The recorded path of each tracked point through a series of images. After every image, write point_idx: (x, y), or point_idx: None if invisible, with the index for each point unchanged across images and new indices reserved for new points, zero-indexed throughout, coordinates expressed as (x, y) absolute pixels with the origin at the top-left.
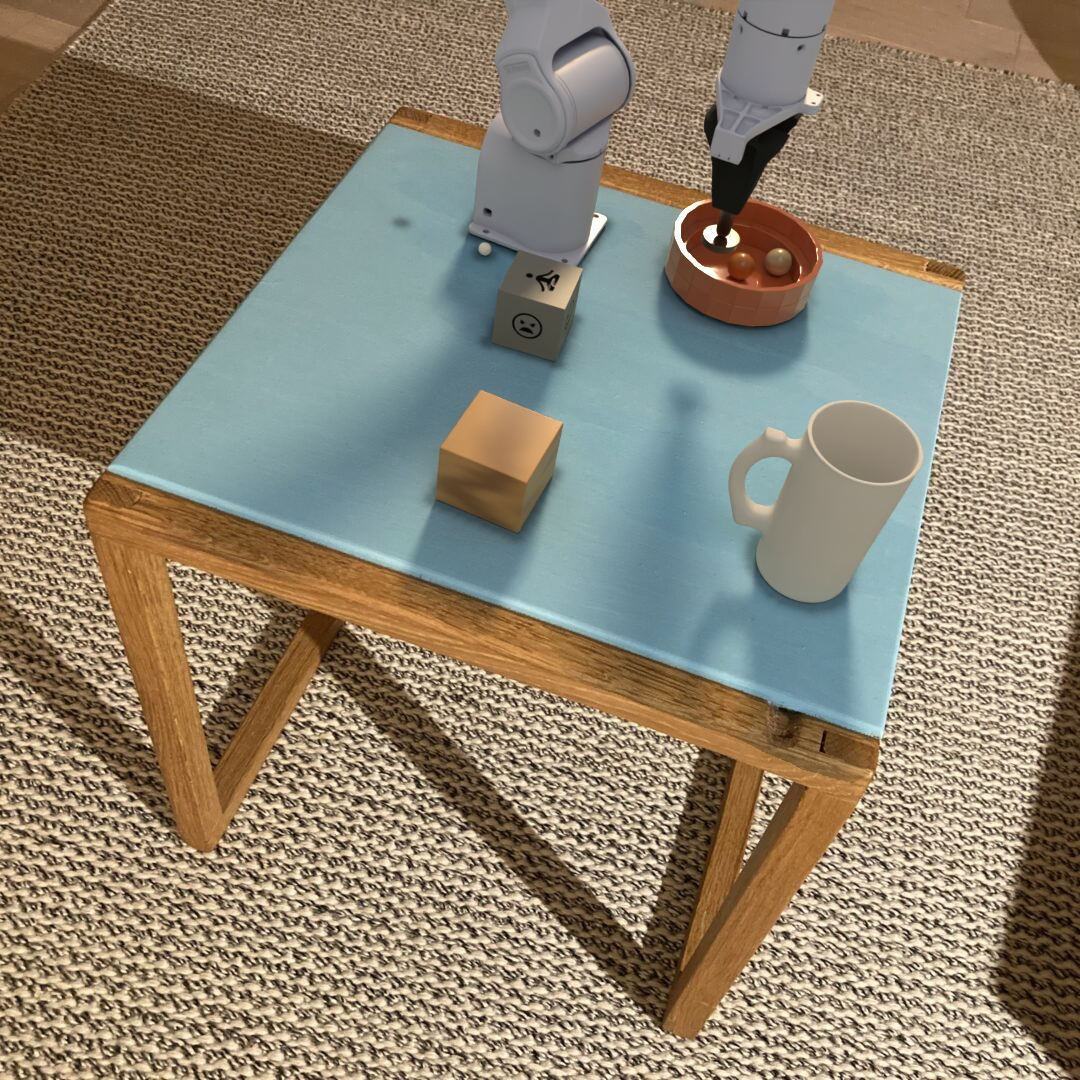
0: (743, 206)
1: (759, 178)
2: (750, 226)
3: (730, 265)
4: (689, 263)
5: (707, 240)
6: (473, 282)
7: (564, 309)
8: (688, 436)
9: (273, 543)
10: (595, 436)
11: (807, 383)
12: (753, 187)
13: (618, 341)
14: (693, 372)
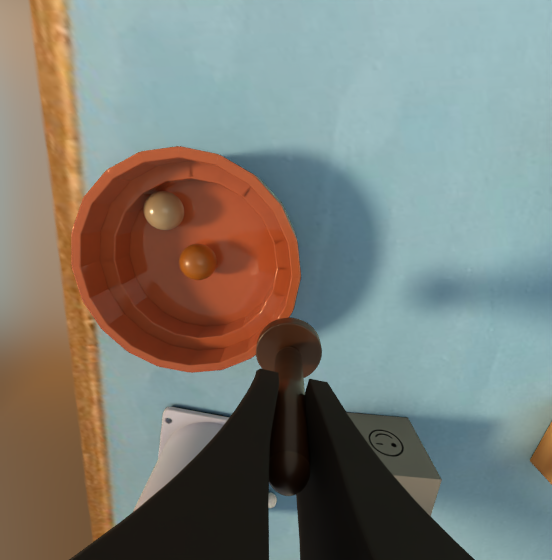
0: (335, 395)
1: (268, 405)
2: (114, 260)
3: (207, 277)
4: None
5: (309, 373)
6: None
7: (440, 479)
8: (494, 281)
9: None
10: (507, 369)
11: (371, 145)
12: (362, 438)
13: (358, 367)
14: (387, 287)
